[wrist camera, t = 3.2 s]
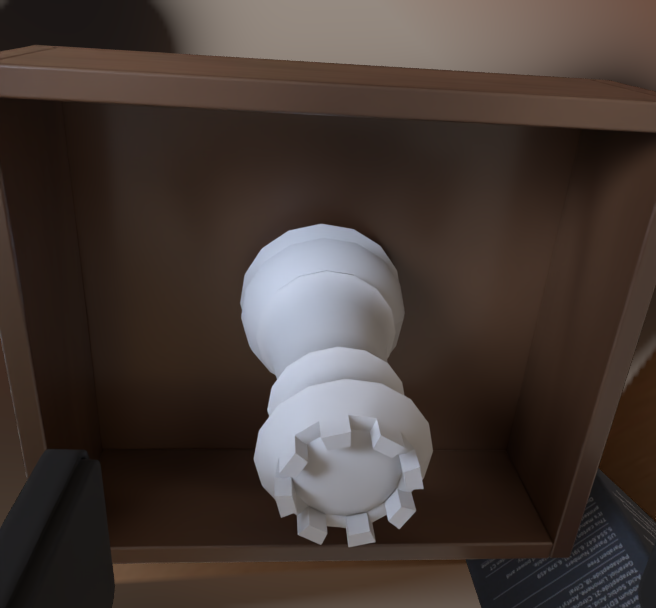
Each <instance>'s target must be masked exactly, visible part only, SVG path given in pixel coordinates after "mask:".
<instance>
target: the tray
mask: <svg viewBox="0 0 656 608" xmlns="http://www.w3.org/2000/svg"><path fill="white" fill-rule="evenodd" d="M318 224H326V225H332V226H338V227H344V228H350V229H354V230H356V231H357V232H359V233H361V234H362V235H364V236H365V237H367V238H369V239H370V240H372V241H373V242H375V243H377V244H378V245H380V246H381V247H382V249H383V250H384V252H385V253H386V255H387V256H388V258H389V259H390V261H391V262H392V264H393V265H394V267H395V268H396V270H397V273H398V280H399V283H400V286H401V292H402V298H403V305H404V311H405V314H404V319H403V323H402V326H401V330H400V334H399V337H398V341H397V344H396V347H395V348H394V349H393V351H392V352H391V353H390V355H389V357H388V358H387V363H388V364H389V365H390V367H391V368H392V369H393V371H394V372H395V373H396V375H397V376H398V377H399V379H400V380H401V381H402V385H403V391H404V396H406V397H407V398H409V399H411V400H412V402H413V403H414V404H415V406H416V407H417V408H418V410H419V411H420V412H421V414H422V415H423V416H424V418H425V419H426V420H427V422H428V423H429V428H430V435H431V441H432V448H433V453H432V456H431V459H430V462H429V465H428V468H427V470H426V473H425V476H424V479H423V480H422V482H423V488H424V489H414V490H413V491H412V492H411V493H412V497H413V501H414V504H415V508H416V512H415V513H414V514H413V515H412V516H411V517H410V518H409V519H408V520H407V521H406V523H405V524H404V525H403V526H402V527H401V528H400V529H398V528H397V527H396V526H394V525H393V524H392V523H390V522H389V521H388V517H387V515H385V516H383V517H382V518H380V519H378V520H376V521H374V522H372V524H373V530H374V536H375V541H376V542H373V543H368V544H363V545H358V546H353V547H348V540H347V533H346V528H342V527H331V526H327V535H326V537H325V539H324V541H323V543H322V544H321V545H320V544H318V543H315V542H313V541H311V540H309V539H306V538H304V537H302V536H299V535H298V532H297V515H296V514H294V513H293V514H290V515H287V516H285V517H282V518H281V516H280V513H279V510H278V506H277V503H276V500H275V499H274V498H273V497H272V496H271V495H270V494H269V493H268V492H267V491H266V489H265V488H264V487H263V486H262V484H261V481H260V478H259V475H258V472H257V469H256V465H255V462H254V454H255V449H256V443H257V438H258V433H259V430H260V429H261V427H262V426H263V424H264V423H265V422H266V420H267V419H268V418H269V414H268V410H267V409H268V404H269V399H270V394H271V388H272V386H273V385H274V383H275V382H276V381H277V378H276V375H275V374H273V373H271V372H270V371H269V370H268V369H267V368H266V367H265V365H264V364H263V363H262V362H261V361H260V360H259V358H258V357H257V356H256V355H255V354H254V353H253V351H252V350H251V348H250V346H249V343H248V340H247V336H246V333H245V330H244V326H243V323H242V319H241V315H242V308H241V305H240V301H241V295H242V289H243V282H244V276H245V273H246V272H247V270H248V269H249V267H250V266H251V264H252V263H253V261H254V260H255V258H256V257H257V255H258V253H259V252H260V250H261V249H262V248H263V247H265V246H266V245H268V244H269V243H271V242H272V241H274V240H275V239H277V238H278V237H280V236H281V235H283V234H284V233H286V232H287V231H289V230H294V229H299V228H304V227H308V226H313V225H318ZM655 287H656V91H651V90H647V89H643V88H639V87H634V86H630V85H626V84H622V83H618V82H614V81H610V80H597V79H582V78H566V77H549V76H533V75H515V74H499V73H484V72H468V71H451V70H434V69H419V68H402V67H386V66H385V67H384V66H370V65H369V66H368V65H353V64H337V63H336V64H335V63H320V62H304V61H288V60H287V61H286V60H272V59H254V58H239V57H221V56H206V55H190V54H189V55H188V54H173V53H157V52H141V51H124V50H108V49H92V48H75V47H59V46H58V47H57V46H43V45H32V46H29V47H24V48H18V49H13V50H7V51H1V52H0V337H1V343H2V348H3V354H4V358H5V364H6V369H7V375H8V380H9V385H10V391H11V396H12V402H13V407H14V413H15V418H16V423H17V429H18V434H19V439H20V445H21V450H22V455H23V461H24V466H25V472H26V476H27V480H28V478H29V476H30V475H31V473H32V471H33V469H34V467H35V466H36V464H37V462H38V460H39V459H40V457H41V455H42V454H43V453H44V451H45V450H47V449H71V450H86V451H87V453H88V456H89V460H99V462H100V465H101V471H102V480H103V488H104V497H105V505H106V514H107V522H108V531H109V540H110V548H111V557H112V564H133V563H211V562H290V561H368V560H447V559H525V558H549V556H550V558H569V557H570V555H571V552H572V549H573V545H574V542H575V539H576V536H577V533H578V530H579V527H580V523H581V520H582V517H583V514H584V511H585V508H586V504H587V501H588V498H589V495H590V492H591V489H592V486H593V482H594V479H595V476H596V473H597V470H598V467H599V463H600V460H601V457H602V454H603V451H604V448H605V445H606V441H607V438H608V435H609V432H610V429H611V426H612V422H613V419H614V416H615V413H616V410H617V407H618V404H619V400H620V397H621V394H622V391H623V388H624V385H625V381H626V378H627V375H628V372H629V369H630V366H631V362H632V359H633V356H634V353H635V350H636V347H637V344H638V340H639V337H640V334H641V331H642V328H643V325H644V321H645V318H646V315H647V312H648V308H649V306H650V302H651V299H652V296H653V293H654V290H655Z"/></svg>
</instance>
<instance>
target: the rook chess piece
mask: <svg viewBox="0 0 656 608" xmlns="http://www.w3.org/2000/svg"><path fill="white" fill-rule="evenodd" d="M240 305H241V308H242V315H241V319H242V323H243V326H244V330H245V333H246V336H247V340H248V343H249V346H250V348H251V350H252V351H253V353H254V354H255V355H256V356H257V357H258V358H259V360H260V361H261V362H262V363H263V364H264V365H265V367H266V368H267V369H268V370H269V371H270V372H271V373H273V374H275V375H276V378H277V381H276V382H275V383H274V385H273V386H272V388H271V394H270V399H269V404H268V409H267V410H268V414H269V418H268V419H267V420H266V422H265V423H264V424H263V426H262V427H261V429H260V430H259V433H258V438H257V443H256V449H255V454H254V462H255V465H256V469H257V472H258V475H259V478H260V481H261V484H262V486H263V487H264V488H265V489H266V491H267V492H268V493H269V494H270V495H271V496H272V497H273V498H274V499H275V500H276V503H277V506H278V510H279V513H280V516H281V518H282V517H285V516H287V515H290V514H293V513H294V514H296V515H297V532H298V535H299V536H302V537H304V538H306V539H309V540H311V541H313V542H315V543H318V544H320V545H321V544H322V543H323V541H324V539H325V537H326V535H327V526H331V527H342V528H346V533H347V540H348V547H353V546H358V545H363V544H368V543H373V542H376V541H375V536H374V530H373V524H372V522H374V521H376V520H378V519H380V518H382V517H383V516H385V515H387V517H388V521H389V522H390V523H392V524H393V525H394V526H396V527H397V528H398V529H400V528H401V527H402V526H403V525H404V524H405V523H406V521H407V520H408V519H409V518H410V517H411V516H412V515H413V514H414V513H415V512H416V508H415V504H414V501H413V497H412V493H411V492H412V491H413V490H414V489H424V488H423V482H422V480H423V479H424V476H425V473H426V470H427V468H428V465H429V462H430V459H431V456H432V453H433V448H432V441H431V435H430V428H429V423H428V422H427V420H426V419H425V418H424V416H423V415H422V414H421V412H420V411H419V410H418V408H417V407H416V406H415V404H414V403H413V402H412V400H411V399H409V398H407V397H406V396H404V391H403V385H402V381H401V380H400V379H399V377H398V376H397V375H396V373H395V372H394V371H393V369H392V368H391V367H390V365H389V364H388V363H387V358H388V357H389V355H390V353H391V352H392V351H393V349H394V348H395V347H396V344H397V341H398V337H399V334H400V330H401V326H402V323H403V319H404V314H405V311H404V305H403V298H402V292H401V286H400V283H399V280H398V273H397V270H396V268H395V267H394V265H393V264H392V262H391V261H390V259H389V258H388V256H387V255H386V253H385V252H384V250H383V249H382V247H381V246H380V245H378V244H377V243H375V242H373V241H372V240H370V239H369V238H367V237H365V236H364V235H362V234H361V233H359V232H357V231H356V230H354V229H350V228H344V227H338V226H332V225H326V224H318V225H313V226H308V227H304V228H299V229H294V230H289V231H287V232H286V233H284V234H283V235H281V236H280V237H278V238H277V239H275V240H274V241H272V242H271V243H269V244H268V245H266V246H265V247H263V248H262V249H261V250H260V252H259V253H258V255H257V257H256V258H255V260H254V261H253V263H252V264H251V266H250V267H249V269H248V270H247V272H246V273H245V276H244V282H243V289H242V295H241V301H240Z"/></svg>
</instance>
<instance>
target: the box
mask: <svg viewBox="0 0 656 608" xmlns="http://www.w3.org/2000/svg"><path fill="white" fill-rule="evenodd" d="M655 542H656V522H655V521H654V520H653V519H652V518H651V517H650V516H648V515H647V514H646V513H645V512H644V511H643V510H642V509H641V508H640V507H639V506H638V505H637V504H636V503H635V502H634V501H633V500H632V499H631V498H629V497H628V496H627V495H626V494H625V493H624V492H623V491H622V490H621V489H620V488H619V487H618V486H617V485H615V484H614V483H613V482H612V481H611V480H610V479H609V478H608V477H607V476H606V475H605V474H604V473H603V472H602V471H601V470H600V469H599V468H598V470H597V473H596V476H595V479H594V482H593V486H592V489H591V492H590V495H589V498H588V501H587V504H586V508H585V511H584V514H583V517H582V520H581V523H580V527H579V530H578V533H577V536H576V539H575V542H574V545H573V549H572V552H571V555H570V557H569V558H550V556H549V558H525V559H465V560H466V562H467V565H468V568H469V572H470V574H471V577H472V580H473V583H474V587H475V590H476V593H477V595H478V599H479V602H480V605H481V608H641V606H640V603H639V598H638V587H639V583H640V580H641V578H642V575H643V573H644V570H645V568H646V565H647V562H648V560H649V557H650V555H651V552H652V549H653V547H654V544H655Z"/></svg>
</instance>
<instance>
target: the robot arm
mask: <svg viewBox="0 0 656 608" xmlns="http://www.w3.org/2000/svg"><path fill="white" fill-rule="evenodd" d="M114 588H115V584H114V574H113V565H112V557H111V548H110V540H109V531H108V522H107V514H106V505H105V497H104V488H103V480H102V471H101V465H100V462H99V460H89V456H88V453H87V451H86V450H71V449H47V450H45V451H44V453H43V454H42V455H41V457H40V459H39V460H38V462H37V464H36V466H35V467H34V469H33V471H32V473H31V475H30V476H29V478H28V480H27V482H26V483H25V485H24V487H23V489H22V490H21V492H20V494H19V496H18V498H17V499H16V501H15V503H14V505H13V507H12V508H11V510H10V512H9V513H8V515H7V517H6V519H5V520H4V522H3V524H2V526H1V527H0V608H112V604H113V599H114ZM638 598H639V603H640V606H641V608H656V542H655V544H654V547H653V549H652V552H651V555H650V557H649V560H648V562H647V565H646V568H645V570H644V573H643V575H642V578H641V580H640V583H639V587H638Z"/></svg>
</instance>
